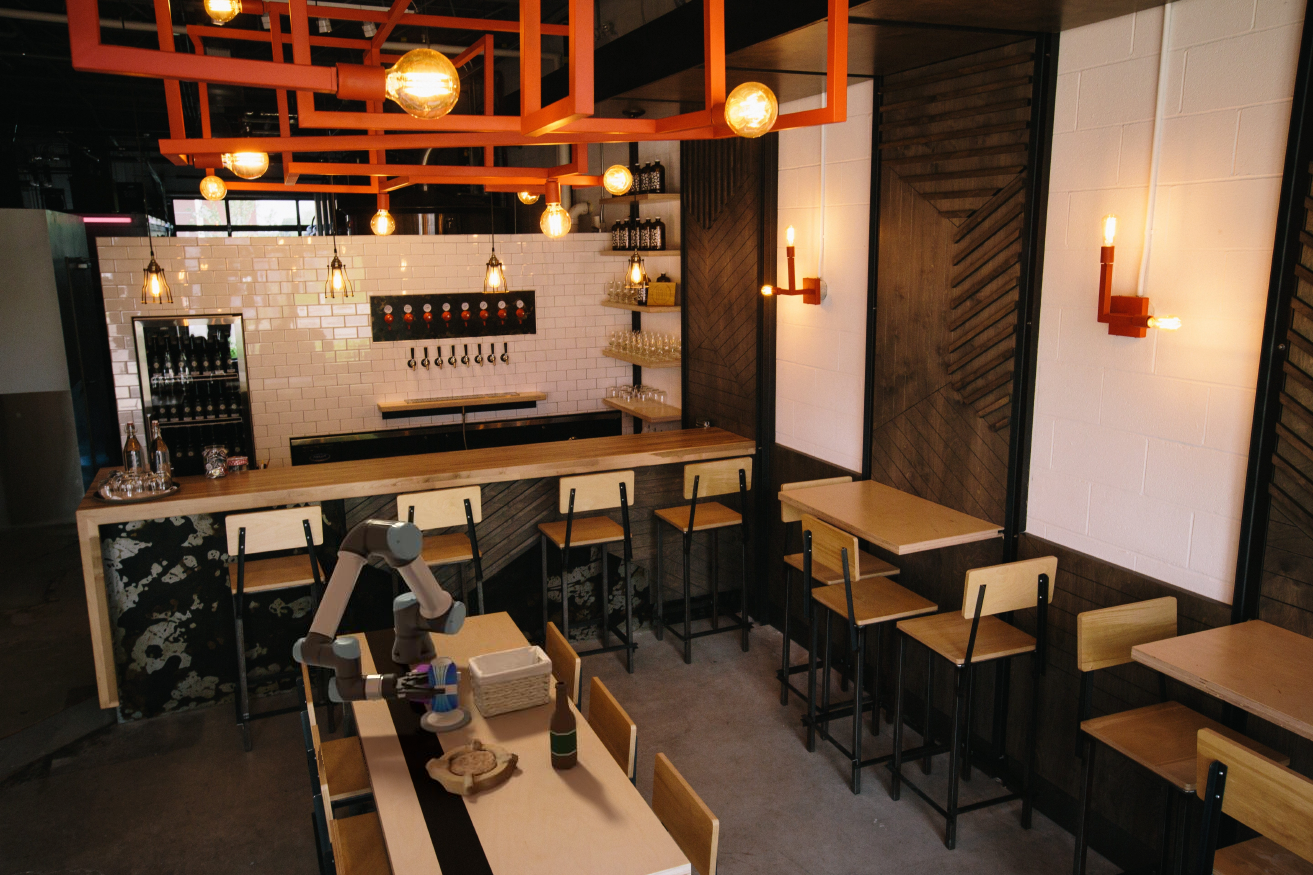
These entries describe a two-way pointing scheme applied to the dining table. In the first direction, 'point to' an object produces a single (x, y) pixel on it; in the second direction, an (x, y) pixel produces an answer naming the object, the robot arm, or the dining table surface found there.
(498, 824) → the dining table surface
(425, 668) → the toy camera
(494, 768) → the ashtray
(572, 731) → the beer bottle
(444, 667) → the beer can
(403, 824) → the dining table surface
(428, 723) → the coaster plate
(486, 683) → the storage basket
